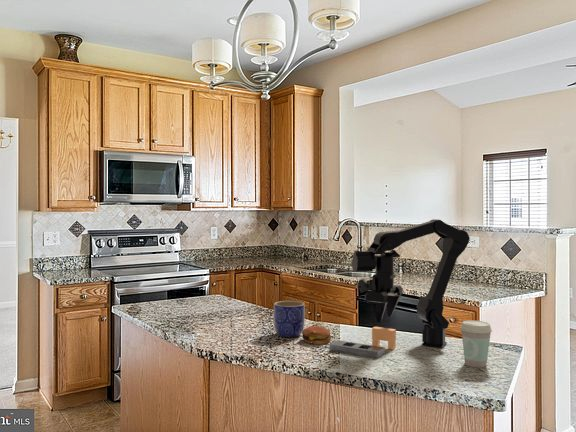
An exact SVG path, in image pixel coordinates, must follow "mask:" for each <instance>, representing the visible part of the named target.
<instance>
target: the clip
mask: <svg viewBox="0 0 576 432" xmlns="http://www.w3.org/2000/svg"><path fill="white" fill-rule="evenodd" d="M380 341H384V342H385V341H386V342H387V349H388V350H392V351H393V350H395V349H396V345H397V344H396V341H397V329H394V328H388V327H387V328H386V327H380V326H373V327H371V345H373V346H379V347H381V346H380V343H381V342H380Z"/></svg>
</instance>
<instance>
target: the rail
mask: <svg viewBox="0 0 576 432" xmlns="http://www.w3.org/2000/svg"><path fill="white" fill-rule="evenodd" d="M385 351H386V347H385V346H373V345H372V344H365V343H360V342H359V343H358V342H353V341H345V340H339V339H338V340H335V341H334V342H332V343H330V344H329V352H336V353H342V354H348V355H354V356H359V357H365V358H371V359H379V358H381V357H382V356H384V355H385V354H386V352H385Z"/></svg>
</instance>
